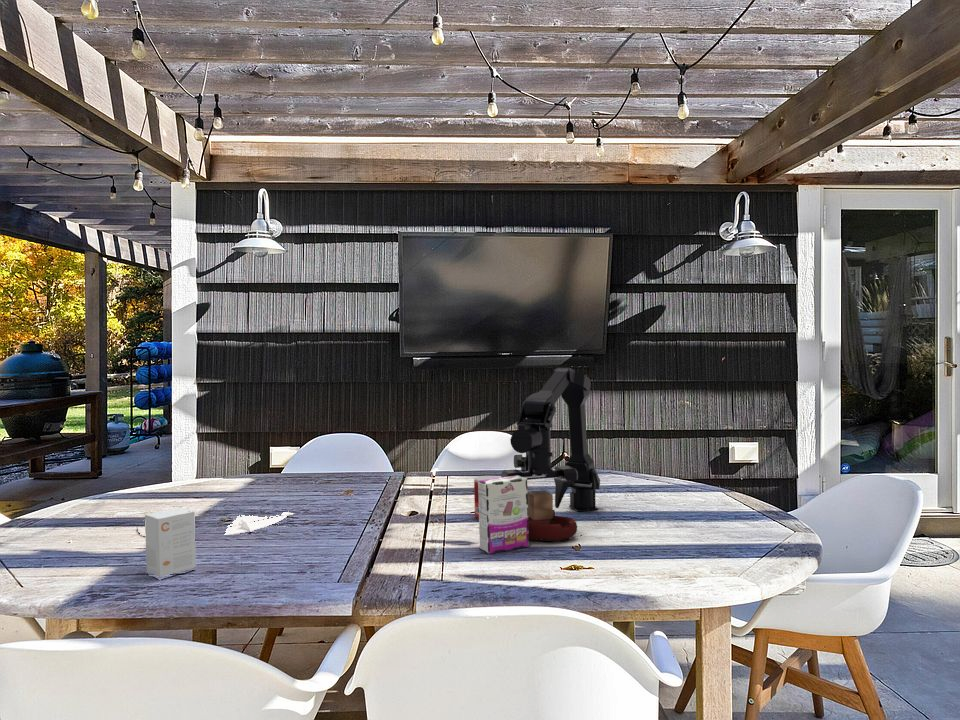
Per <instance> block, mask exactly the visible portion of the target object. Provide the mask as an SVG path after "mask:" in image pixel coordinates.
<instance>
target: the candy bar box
mask: <svg viewBox="0 0 960 720" xmlns="http://www.w3.org/2000/svg"><path fill="white" fill-rule="evenodd" d="M500 477H501V476H500ZM528 492H529V491H528V480H527V478H525V477H522V476H518V475H517V476H509V477H501V478H494V479H486V480H479V481H478V499H479V519H478V522H479V523H478V525H479V526H478V527H479V529H478V530H479V548H480V550H481V551H483V552H485V553H487V554H488V555H489V554H495V553H501V552H506V551H512V550H518V549H522V548H528V547H530V541H529V525H528Z"/></svg>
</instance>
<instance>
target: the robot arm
mask: <svg viewBox="0 0 960 720" xmlns="http://www.w3.org/2000/svg"><path fill="white" fill-rule="evenodd" d="M591 386H592V382H591V379H590V378H589V377H588V376H587V375H586V374H584V373H582V372H579V371H576V370H575V369H573V368H570V367H557V368H555V369H553V373H552V375H551V376H550V378H549V379H548V380H547V381H546V382H545V384H544V386H543V387H542V388H541V389H540V390H539V391H537V392H535V393H532V394H530V395H528V397H526V398H525V400H523V403H522V405H521V408H520V412H519V415H518V418H517V419H518V420H517V423H516V425H517V429H515V431H514V432H513V433H512V434H511V437H510V445H511V448H512V450H513V451H515V452H517V453H518V454H515V455H513V466H514V469H504V470H502V472H501V474H500V477H509V476H517V475H518V476H522V477H525V478H527V481H528V480H529V481H530V480H540V479H553V481H554V485H555V491H554V493H555V494H554V504H555V505H554V507H555V508H556V509H559V508H560V506H561V503H562V501H563V498H564V496H565V494H566V491H568V488H570V489H571V490H570V491H571V492H569V505H568V506H569V507H570V508H571V509H573V510H575V511H577V512H586V511H587V512H589V511H597V510H599V507H597V506H596V502H597V501H596V490H600V488H601V487H600V485H601V479H600V476H599V474H598V472H597V470H596V468H595V462H594V460H593V458H592V457H591V455H590V454H589V452H588V440H587V436H588V435H587V422H586V406H585V403H586V402H587V400H588V398H589V397H590V392H591ZM559 398H562V400H563V402H564V403H565V405H566V406H567V410H568V411H567V412H568V416H567V417H568V427H569V445H570V456H569V458H568V459H567V462H565V464H564V465H560V466H558V465H557V466H555V468H554V469H553V468H552V463H551V461H552V460H551V459H552V458H551V457H553V452H552V451H551V429H552V428H553V424H552V421H553V418H554V416H555V414H556V411H557V409H556V403H557V402H558V400H559ZM523 454H525V456H523ZM518 468H520V470H519V469H518Z"/></svg>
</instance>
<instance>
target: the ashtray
mask: <svg viewBox="0 0 960 720" xmlns="http://www.w3.org/2000/svg"><path fill="white" fill-rule="evenodd" d="M528 525H529V542H530V541H542V542H543V541H546V542H547V541H548V542H549V541H554V542H556V541H557V542H568V541H571V538H572V537H574V536H575V535H576V533H577V532H578V525H577V521H576V520H575V519H574V518H573V517H569V516H559V515H556V511H555V509H553V518H551V519H541V520H533V519H532V518H530V517H529V516H528Z"/></svg>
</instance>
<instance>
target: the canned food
mask: <svg viewBox="0 0 960 720" xmlns="http://www.w3.org/2000/svg"><path fill="white" fill-rule="evenodd" d="M494 478H501V476H498V475H497V476H496V475H481V476H476V477H474V479H473V484H474V485H473V487H474V489H473V490H474V492H473V494H474V496H473V497H474V517H475V519H477V520H479V499H478V481H479V480H486V479H494Z"/></svg>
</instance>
